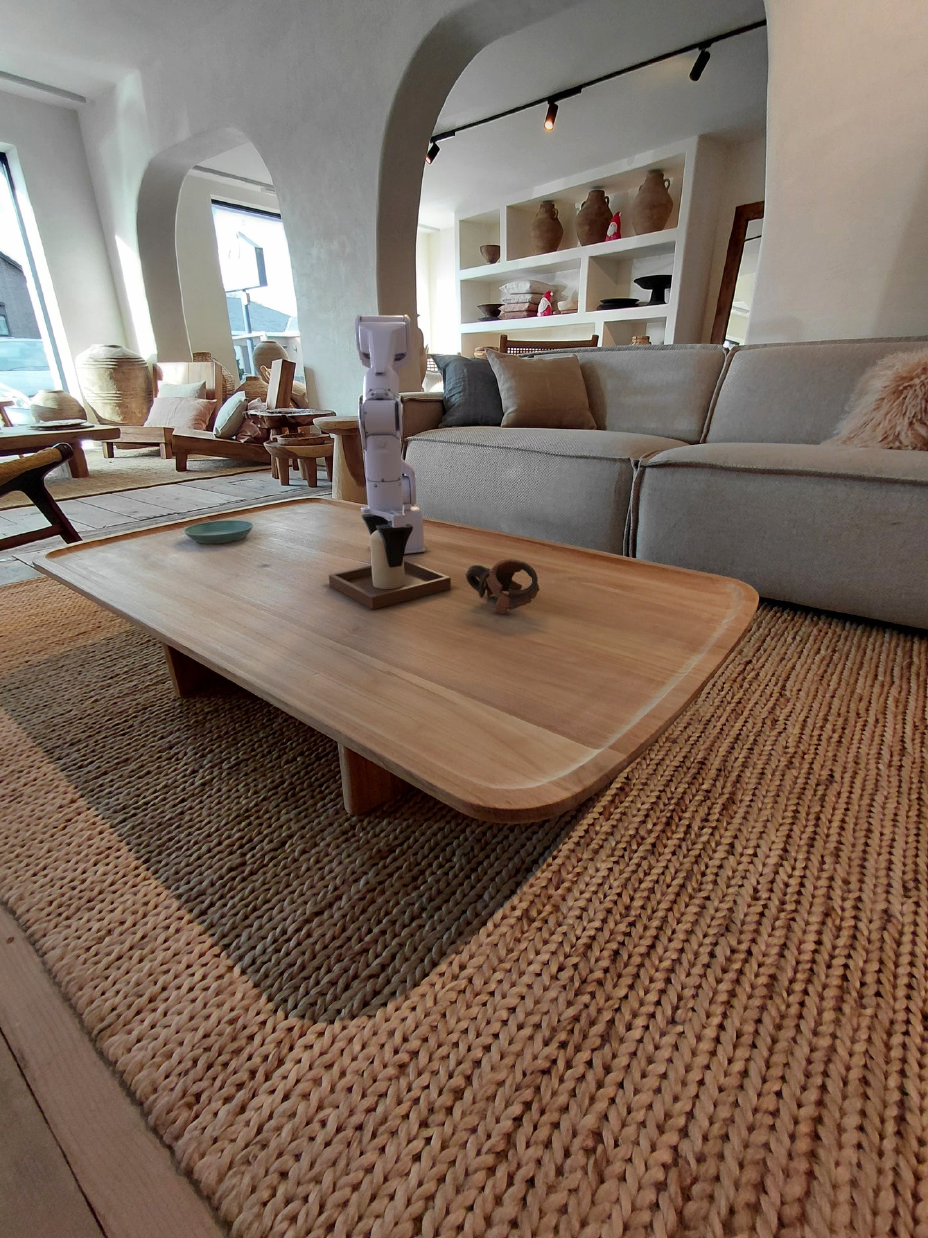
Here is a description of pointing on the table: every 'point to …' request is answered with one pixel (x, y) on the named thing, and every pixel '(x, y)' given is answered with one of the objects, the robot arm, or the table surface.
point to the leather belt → (503, 583)
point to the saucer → (219, 531)
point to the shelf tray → (363, 590)
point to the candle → (384, 566)
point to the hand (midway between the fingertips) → (388, 560)
